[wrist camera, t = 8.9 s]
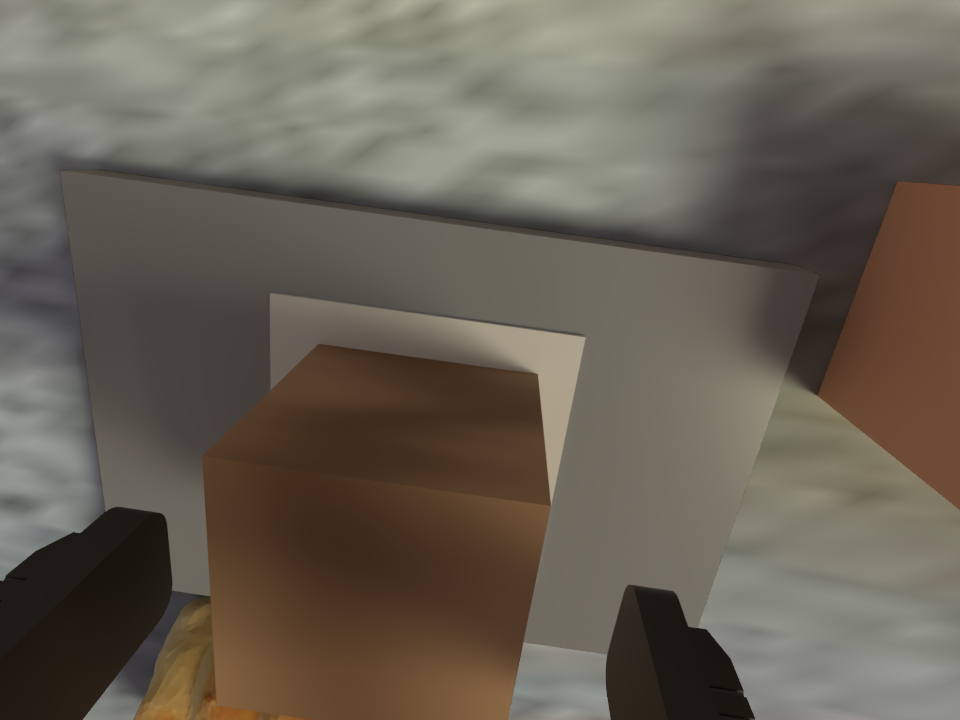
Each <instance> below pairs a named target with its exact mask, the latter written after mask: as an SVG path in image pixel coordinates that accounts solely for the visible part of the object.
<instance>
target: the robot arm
mask: <svg viewBox="0 0 960 720" xmlns="http://www.w3.org/2000/svg"><path fill="white" fill-rule="evenodd" d="M171 592H172V571H171V560H170V549H169V539H168V528H167V521H166V518H165V516H164V515H163V514H162V513H158V512H151V511H144V510H138V509H131V508H124V507H113V508H111V509H109V510H108V511H106V512H105V513H104V514H102V515H101V516H100V517H99V518H98V519H97V520H95V521H94V522H93V523H92V524H91V525H90V526H88V527H87V528H86V529H85V530H84V531H83V532H81V533H74V532H73V533H71V534H69V535H67V536H65V537H63V538H61V539H59V540H57V541H55V542H53V543H51V544H49V545H47V546H45V547H43V548H41V549H39V550H37V551H35V552H34V553H33V554H32V555H31V556H29V557H28V558H27V559H26V560H24V561H23V562H22V563H21V564H19V565H18V566H17V567H16V568H15V569H13V570H12V571H11V572H10V573H8V574H7V575H6V578H5V580H4V581H0V720H83V718H84V717H85V716H86V714H87V713H88V712H89V711H90V709H91V708H92V707H93V706H94V704H95V703H96V702H97V700H98V699H99V698H100V697H101V695H102V694H103V693H104V691H105V690H106V689H107V688H108V686H109V685H110V684H111V682H112V681H113V680H114V679H115V677H116V676H117V675H118V673H119V672H120V671H121V670H122V668H123V667H124V666H125V664H126V663H127V662H128V661H129V659H130V658H131V657H132V656H133V654H134V653H135V652H136V650H137V649H138V648H139V647H140V645H141V644H142V643H143V641H144V640H145V639H146V638H147V636H148V635H149V634H150V632H151V631H152V630H153V629H154V627H155V626H156V625H157V623H158V622H159V621H160V619H161V618H162V616H163V614H164V612H165V610H166V608H167V606H168V603H169V600H170V597H171ZM606 690H607V697H608V704H609V710H610V717H611V720H755V717H754V715H753V712H752V710H751V708H750V705H749V703H748V700H747V698H746V697H744V695H743V692H744V691H743V688H742V686H741V683H740V681H739V678H738V676H737V673H736V671H735V669H734V666H733V664H732V661H731V659H730V657H729V656H728V655H727V654H726V653H725V651H724V650H723V649H722V648H721V647H720V645H719V644H718V643H717V642H716V641H715V639H714V638H713V637H712V636H711V634H710V633H709V632H708V631H707V630H706V629H700V628H693V627H688V624H687V621H686V619H685V616H684V613H683V610H682V607H681V604H680V601H679V599H678V596H677V595H676V593H675V592H674V591H671V590H664V589H657V588H650V587H644V586H637V585H628V586H627V587H626V589H625V591H624V594H623V598H622V601H621V605H620V609H619V612H618V616H617V620H616V623H615V627H614V631H613V634H612V638H611V642H610V646H609V649H608V654H607V662H606Z"/></svg>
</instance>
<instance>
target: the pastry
mask: <svg viewBox="0 0 960 720" xmlns="http://www.w3.org/2000/svg"><path fill="white" fill-rule="evenodd" d="M134 720H311V719H304V718H297V717H290V716H284V715H277V714H270V713H263V712H257V711H250V710H243V709H236V708H230V707H223V706H217V700H216V683H215V666H214V649H213V632H212V615H211V598H210V596H203V597H199V598H196V599H194V600H193V601H191V602H189V603H188V604H186V605H185V606H184V607H183V608H182V610H181V612H180V614H179V615H178V617H177V619H176V621H175V623H174V625H173V627H172V628H171V630H170V632H169V634H168V635H167V637H166V640H165V643H164V646H163V648H162V650H161V651H160V654H159V656H158V658H157V661H156V663H155V669H154V675H153V677H152V679H151V682H150V684H149V688H148V690H147V693H146V695H145V697H144V699H143V701H142V703H141V705H140V707H139V709H138V711H137V713H136V715H135V717H134Z"/></svg>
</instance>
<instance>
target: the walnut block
mask: <svg viewBox="0 0 960 720" xmlns="http://www.w3.org/2000/svg"><path fill="white" fill-rule="evenodd" d="M202 462H203V479H204V496H205V513H206V530H207V547H208V564H209V581H210V598H211V615H212V632H213V649H214V666H215V683H216V700H217V706H223V707H230V708H236V709H243V710H250V711H257V712H263V713H270V714H277V715H284V716H290V717H297V718H304V719H311V720H508V715H509V710H510V705H511V701H512V696H513V691H514V686H515V681H516V676H517V671H518V666H519V661H520V656H521V651H522V647H523V642H524V637H525V632H526V627H527V622H528V617H529V612H530V607H531V602H532V597H533V593H534V588H535V583H536V578H537V573H538V568H539V563H540V558H541V553H542V548H543V543H544V539H545V534H546V529H547V524H548V519H549V514H550V509H551V500H550V490H549V480H548V470H547V460H546V450H545V440H544V430H543V420H542V410H541V400H540V390H539V380H538V374H532V373H525V372H518V371H511V370H504V369H496V368H489V367H482V366H475V365H468V364H461V363H453V362H446V361H439V360H432V359H425V358H418V357H410V356H403V355H396V354H389V353H382V352H375V351H367V350H360V349H353V348H346V347H339V346H332V345H324V344H318V345H317V346H316V347H315V348H314V349H313V350H312V351H311V352H310V353H309V354H308V355H306V356H305V357H304V358H303V359H302V360H301V361H300V362H299V363H298V364H297V365H296V366H295V367H294V368H293V369H292V370H291V371H290V372H289V373H288V374H287V375H286V376H285V377H284V378H283V379H282V380H281V381H280V382H279V383H278V384H276V385H275V386H274V387H273V388H272V389H271V390H270V391H269V392H268V393H267V394H266V395H265V396H264V397H263V398H262V399H261V400H260V401H259V402H258V403H257V404H256V405H255V406H254V407H253V408H252V409H251V410H250V411H249V412H248V413H247V414H245V415H244V416H243V417H242V418H241V419H240V420H239V421H238V422H237V423H236V424H235V425H234V426H233V427H232V428H231V429H230V430H229V431H228V432H227V433H226V434H225V435H224V436H223V437H222V438H221V439H220V440H219V441H218V442H217V443H215V444H214V445H213V446H212V447H211V448H210V449H209V450H208V451H207V452H206V453H205V454H204V455H203V456H202Z"/></svg>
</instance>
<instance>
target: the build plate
mask: <svg viewBox="0 0 960 720" xmlns="http://www.w3.org/2000/svg"><path fill="white" fill-rule="evenodd" d="M60 176H61V184H62V191H63V199H64V206H65V214H66V221H67V229H68V236H69V243H70V251H71V258H72V266H73V273H74V281H75V288H76V296H77V303H78V311H79V318H80V325H81V333H82V340H83V348H84V355H85V363H86V370H87V378H88V385H89V393H90V400H91V407H92V415H93V422H94V430H95V437H96V445H97V452H98V460H99V467H100V475H101V482H102V489H103V497H104V504H105V512H106V511H108V510H109V509H111V508H113V507H124V508H131V509H138V510H144V511H151V512H158V513H162V514H163V515H164V516H165V518H166V521H167V528H168V539H169V549H170V560H171V571H172V591H177V592H184V593H191V594H198V595H205V596H210V581H209V564H208V547H207V530H206V513H205V496H204V479H203V462H202V456H203V455H204V454H205V453H206V452H207V451H208V450H209V449H210V448H211V447H212V446H213V445H214V444H215V443H217V442H218V441H219V440H220V439H221V438H222V437H223V436H224V435H225V434H226V433H227V432H228V431H229V430H230V429H231V428H232V427H233V426H234V425H235V424H236V423H237V422H238V421H239V420H240V419H241V418H242V417H243V416H244V415H245V414H247V413H248V412H249V411H250V410H251V409H252V408H253V407H254V406H255V405H256V404H257V403H258V402H259V401H260V400H261V399H262V398H263V397H264V396H265V395H266V394H267V393H268V392H269V391H270V390H271V389H272V388H273V387H274V386H275V385H276V384H278V383H279V382H280V381H281V380H282V379H283V378H284V377H285V376H286V375H287V374H288V373H289V372H290V371H291V370H292V369H293V368H294V367H295V366H296V365H297V364H298V363H299V362H300V361H301V360H302V359H303V358H304V357H305V356H306V355H308V354H309V353H310V352H311V351H312V350H313V349H314V348H315V347H316V346H317V345H318V344H324V345H332V346H339V347H346V348H353V349H360V350H367V351H375V352H382V353H389V354H396V355H403V356H410V357H418V358H425V359H432V360H439V361H446V362H453V363H461V364H468V365H475V366H482V367H489V368H496V369H504V370H511V371H518V372H525V373H532V374H538V380H539V390H540V400H541V410H542V420H543V430H544V440H545V450H546V460H547V470H548V480H549V490H550V500H551V509H550V514H549V519H548V524H547V529H546V534H545V539H544V543H543V548H542V553H541V558H540V563H539V568H538V573H537V578H536V583H535V588H534V593H533V597H532V602H531V607H530V612H529V617H528V622H527V627H526V632H525V637H524V642H526V643H533V644H540V645H547V646H553V647H560V648H567V649H574V650H581V651H588V652H595V653H601V654H608V649H609V646H610V642H611V638H612V634H613V631H614V627H615V623H616V620H617V616H618V612H619V609H620V605H621V601H622V598H623V594H624V591H625V589H626V587H627V586H628V585H637V586H644V587H650V588H657V589H664V590H671V591H674V592H675V593H676V595H677V596H678V599H679V601H680V604H681V607H682V610H683V613H684V616H685V619H686V621H687V624H688V627H693V628H697V627H698V624H699V622H700V619H701V616H702V613H703V610H704V607H705V604H706V601H707V599H708V596H709V593H710V590H711V587H712V584H713V581H714V578H715V576H716V573H717V570H718V567H719V564H720V561H721V558H722V555H723V553H724V550H725V547H726V544H727V541H728V538H729V535H730V532H731V529H732V527H733V524H734V521H735V518H736V515H737V512H738V509H739V506H740V504H741V501H742V498H743V495H744V492H745V489H746V486H747V483H748V481H749V478H750V475H751V472H752V469H753V466H754V463H755V460H756V458H757V455H758V452H759V449H760V446H761V443H762V440H763V437H764V435H765V432H766V429H767V426H768V423H769V420H770V417H771V414H772V412H773V409H774V406H775V403H776V400H777V397H778V394H779V391H780V389H781V386H782V383H783V380H784V377H785V374H786V371H787V368H788V366H789V363H790V360H791V357H792V354H793V351H794V348H795V345H796V343H797V340H798V337H799V334H800V331H801V328H802V325H803V322H804V320H805V317H806V314H807V311H808V308H809V305H810V302H811V299H812V296H813V294H814V291H815V288H816V285H817V282H818V279H819V276H820V274H817V273H815V272H812V271H810V270H807V269H805V268H802V267H800V266H797V265H790V264H782V263H775V262H768V261H760V260H753V259H746V258H738V257H731V256H724V255H717V254H709V253H702V252H695V251H687V250H680V249H673V248H666V247H658V246H651V245H644V244H636V243H629V242H622V241H615V240H607V239H600V238H593V237H585V236H578V235H571V234H564V233H556V232H549V231H542V230H534V229H527V228H520V227H513V226H505V225H498V224H491V223H483V222H476V221H469V220H462V219H454V218H447V217H440V216H432V215H425V214H418V213H410V212H403V211H396V210H389V209H381V208H374V207H367V206H359V205H352V204H345V203H338V202H330V201H323V200H316V199H308V198H301V197H294V196H287V195H279V194H272V193H265V192H257V191H250V190H243V189H236V188H228V187H221V186H214V185H206V184H199V183H192V182H185V181H177V180H170V179H163V178H155V177H148V176H141V175H134V174H126V173H119V172H112V171H104V170H97V169H80V170H60Z"/></svg>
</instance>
